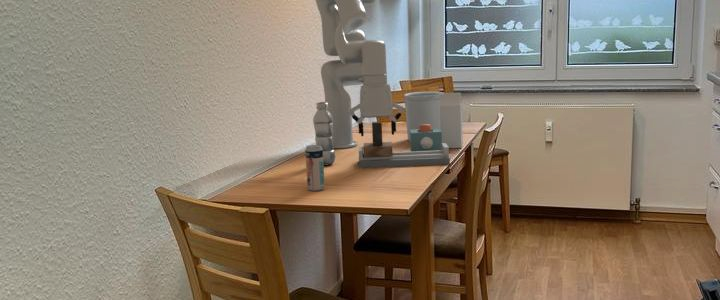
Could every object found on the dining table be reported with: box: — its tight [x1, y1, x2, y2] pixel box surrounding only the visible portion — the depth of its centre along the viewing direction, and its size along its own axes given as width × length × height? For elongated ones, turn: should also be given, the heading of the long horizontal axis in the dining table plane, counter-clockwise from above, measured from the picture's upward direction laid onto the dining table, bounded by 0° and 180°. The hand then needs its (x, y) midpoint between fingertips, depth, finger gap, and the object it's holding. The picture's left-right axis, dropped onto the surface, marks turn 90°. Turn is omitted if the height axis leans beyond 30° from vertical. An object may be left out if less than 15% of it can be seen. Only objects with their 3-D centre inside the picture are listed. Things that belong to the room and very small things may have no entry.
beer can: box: [304, 144, 326, 192], centre depth 191 cm, size 5×5×12 cm
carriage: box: [362, 121, 394, 157], centre depth 224 cm, size 9×9×10 cm
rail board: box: [358, 143, 451, 169], centre depth 225 cm, size 28×12×5 cm, turn 89°
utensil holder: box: [403, 91, 444, 142], centre depth 268 cm, size 15×15×18 cm
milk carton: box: [440, 92, 464, 149], centre depth 249 cm, size 7×7×19 cm
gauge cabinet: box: [409, 128, 442, 152], centre depth 237 cm, size 10×8×8 cm
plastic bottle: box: [312, 101, 336, 166], centre depth 226 cm, size 6×7×20 cm
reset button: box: [419, 124, 431, 132], centre depth 236 cm, size 4×4×5 cm
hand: (377, 135), depth 224 cm, fingers open, 9 cm apart
